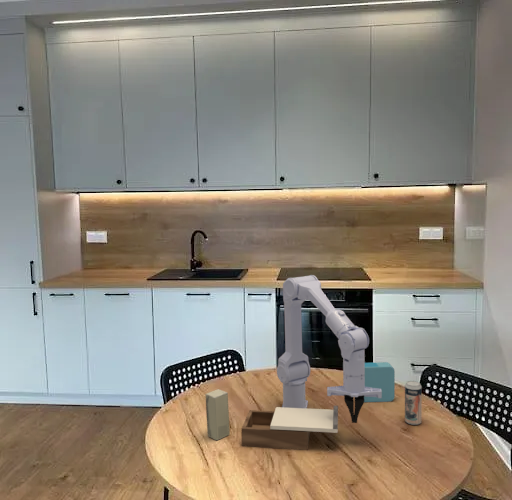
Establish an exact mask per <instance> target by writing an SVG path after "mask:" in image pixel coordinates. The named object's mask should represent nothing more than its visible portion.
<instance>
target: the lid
mask: <svg viewBox="0 0 512 500" xmlns="http://www.w3.org/2000/svg"><path fill="white" fill-rule="evenodd" d="M274 411H275V412H274V415H273V419H272V422H271V425H270V429H277V430H295V431H310V432H315V433H317V432H318V433H319V432H320V433H333V434H334V433H335V434H337V433H338V432H339V405H333V409H326V408H325V409H324V408H308V407H307V408H285V407H282V406H281V407H280V406H276V407H275V410H274Z"/></svg>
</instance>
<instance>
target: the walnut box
mask: <svg viewBox="0 0 512 500" xmlns="http://www.w3.org/2000/svg"><path fill="white" fill-rule="evenodd" d="M274 412H275V410H257V409H256V410H255V409H249V410H248V412H247V416H246V418H245V420H244V422H243V424H242V426H241V446H242V447H249V448H251V447H253V448H270V449H283V450H284V449H286V450H299V451H308V450H309V442H310V436H311V431H295V430H277V429H270V425H271V422H272V419H273V415H274Z"/></svg>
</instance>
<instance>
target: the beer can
mask: <svg viewBox="0 0 512 500" xmlns="http://www.w3.org/2000/svg"><path fill="white" fill-rule="evenodd" d="M422 388H423V387H422V385H421V383H420V382H418V381H415V380H409V381H406V383H405V385H404V421H405V423H406V424H409V425H411V426H418V425H420V424H422V423H423V422H422V401H423V400H422V397H423V396H422V395H423V394H422V390H423V389H422Z"/></svg>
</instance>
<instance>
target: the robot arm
mask: <svg viewBox="0 0 512 500" xmlns="http://www.w3.org/2000/svg"><path fill="white" fill-rule="evenodd" d="M282 292H283V293H282V295H283V296H282V298H283V308H284V341H285V343H284V346H285V350H284V351H285V352H284V353H282V355H281V356H280V357H279V358H278V361H277V363H278V364H277V366H276V367H277V368H276V375H277V379H278V380H279V381H280V383H282V401H283V402H282V405H281V407H285V408H307V409H308V404H309V400H306V382H308V378H309V376H311V365H310V362H309V356H308V355H307V354H305V353H304V352H303V335H302V333H303V331H302V304H303V303H304V302H305V301H310V302H311V303H312V304H313V305H314V306H315V307H316V308H317V309H318V310H319V311H320V312H321V313H322V315H324V316H325V324H326V325H327V326H328V328H330V330H331V331H332V333H333V334H334V335H335V336H336V338H337V342H338V347H339V349H340V355H341V358H343V359H342V361H343V362H342V370H343V371H342V375H343V376H342V377H343V378H342V381H343V383H342V384H343V385H338V386H337V385H335V386H327V387H326V388H327V389H326V390H327V391H326V392H327V393H326V396H327V397H332V396H339V397H341V396H342V397H343V398H344V399H343V400H344V403H345V405H346V407H347V408H348V409H347V410H348V411H349V414H350V419H351V423H353V424H357V423H358V417H359V414H360V411H361V409H362V407H363V405H364V404H365V402H364V397H377V398H382V391H381V389H378V388H371V387H365V363H366V361H365V357H366V354H365V351H366V350H365V349H367V348H368V347H369V344H370V337H369V335H368V333H367V331H366V330H365V328H363V327H359V326H357V325H355V323H353V322H352V321H351V319H350V318H349V317H348V316H347V315H346V313H345V311H343V310H341V309H336V308H335V307H334V306H333V304H332V302H331V301H330V300H329V298H328V297H327V295H326V294H325V293H324V292H323V290H322V283H321V281H320V280H319V279H318V278H317V276H316V275H314V274H310V275H305V276H297V277H288V278H286V279H285V281H284V282H283V283H282Z"/></svg>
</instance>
